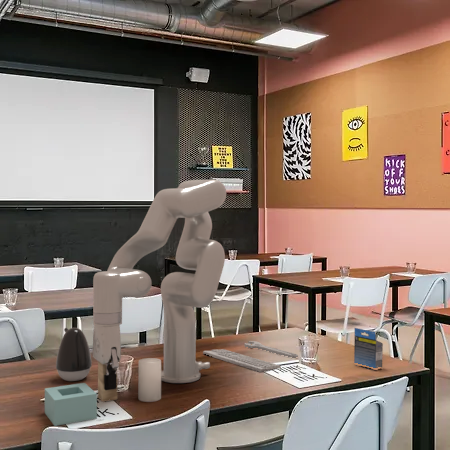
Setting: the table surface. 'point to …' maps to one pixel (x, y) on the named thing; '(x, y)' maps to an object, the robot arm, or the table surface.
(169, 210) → the robot arm
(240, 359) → the keyboard
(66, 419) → the bore block
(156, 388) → the white pillar candle
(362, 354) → the label tape cartridge
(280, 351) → the adjustable wrench
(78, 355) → the dark brown egg shape
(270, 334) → the table surface
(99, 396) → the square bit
